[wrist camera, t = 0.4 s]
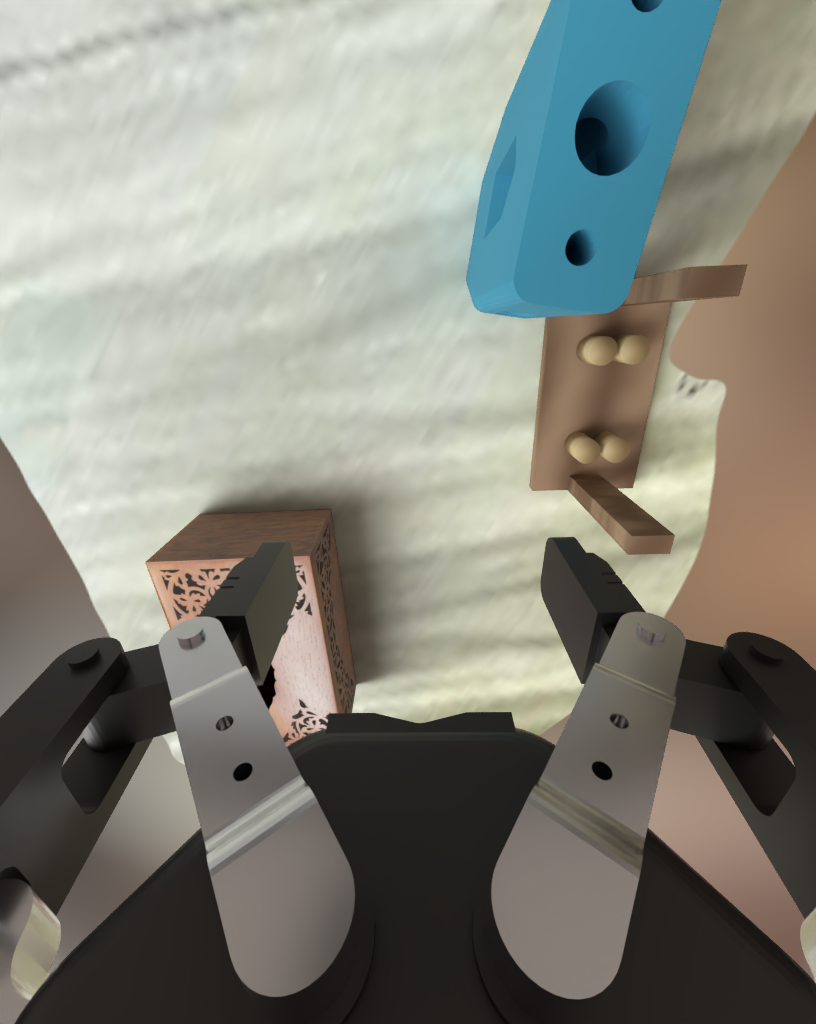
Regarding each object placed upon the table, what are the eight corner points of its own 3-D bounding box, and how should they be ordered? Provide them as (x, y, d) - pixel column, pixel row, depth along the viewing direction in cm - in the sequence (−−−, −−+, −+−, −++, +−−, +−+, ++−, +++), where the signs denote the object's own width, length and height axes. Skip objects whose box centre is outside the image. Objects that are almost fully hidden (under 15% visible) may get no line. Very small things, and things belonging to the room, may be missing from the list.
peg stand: (529, 486, 42) (579, 555, 30) (548, 289, 35) (625, 269, 22) (627, 483, 42) (719, 552, 29) (667, 285, 35) (814, 261, 22)
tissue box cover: (356, 682, 55) (345, 754, 46) (250, 685, 55) (218, 756, 46) (331, 508, 44) (309, 555, 35) (200, 513, 45) (145, 562, 35)
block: (489, 137, 31) (598, -134, 13) (554, 148, 31) (754, -105, 13) (460, 312, 36) (508, 300, 18) (516, 320, 36) (621, 316, 18)
